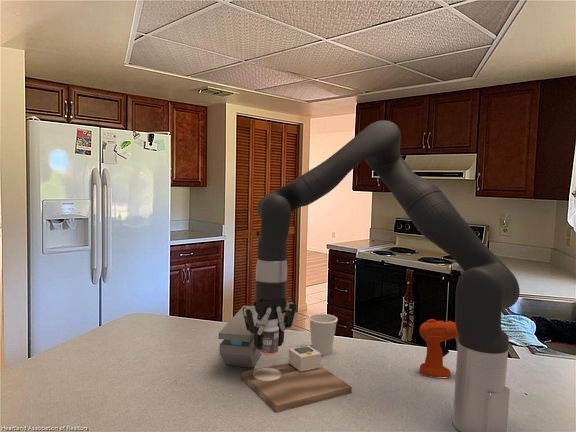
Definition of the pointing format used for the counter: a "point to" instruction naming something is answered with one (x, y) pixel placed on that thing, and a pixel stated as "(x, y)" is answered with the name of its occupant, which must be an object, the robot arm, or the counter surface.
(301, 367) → the white small box
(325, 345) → the dixie cup
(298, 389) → the wooden board
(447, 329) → the toy drill
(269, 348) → the pill bottle
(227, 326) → the gray lidded box
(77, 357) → the counter surface
